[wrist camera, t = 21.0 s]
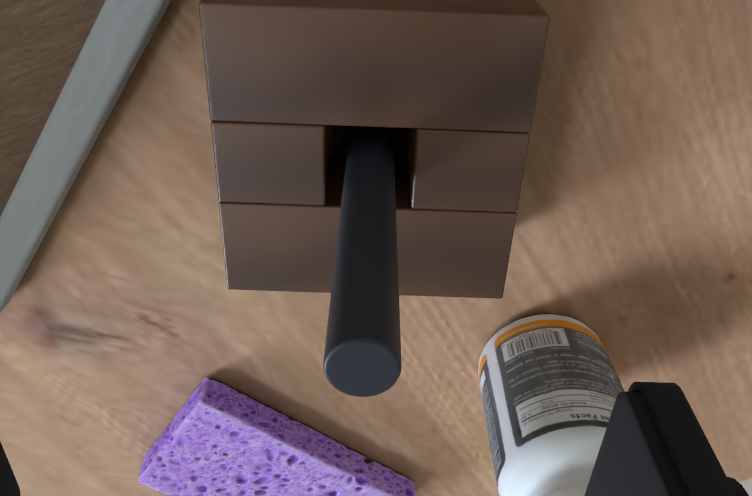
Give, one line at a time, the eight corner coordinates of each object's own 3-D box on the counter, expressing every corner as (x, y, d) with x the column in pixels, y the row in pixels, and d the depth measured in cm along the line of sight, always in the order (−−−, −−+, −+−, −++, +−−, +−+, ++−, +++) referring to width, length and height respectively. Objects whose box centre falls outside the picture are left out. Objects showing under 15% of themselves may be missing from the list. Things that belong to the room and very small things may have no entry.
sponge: (342, 544, 38) (340, 575, 36) (141, 453, 34) (129, 484, 32) (419, 479, 35) (420, 511, 33) (208, 372, 31) (198, 401, 29)
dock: (226, -25, 22) (197, 1, 18) (524, -13, 22) (550, 15, 19) (246, 232, 27) (227, 289, 24) (487, 240, 27) (502, 299, 24)
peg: (350, 106, 24) (322, 338, 13) (394, 108, 24) (403, 341, 13) (349, 147, 25) (323, 397, 14) (392, 149, 25) (399, 400, 14)
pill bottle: (565, 414, 32) (630, 619, 24) (456, 384, 31) (483, 588, 23) (626, 327, 29) (723, 526, 21) (508, 292, 28) (560, 485, 20)
